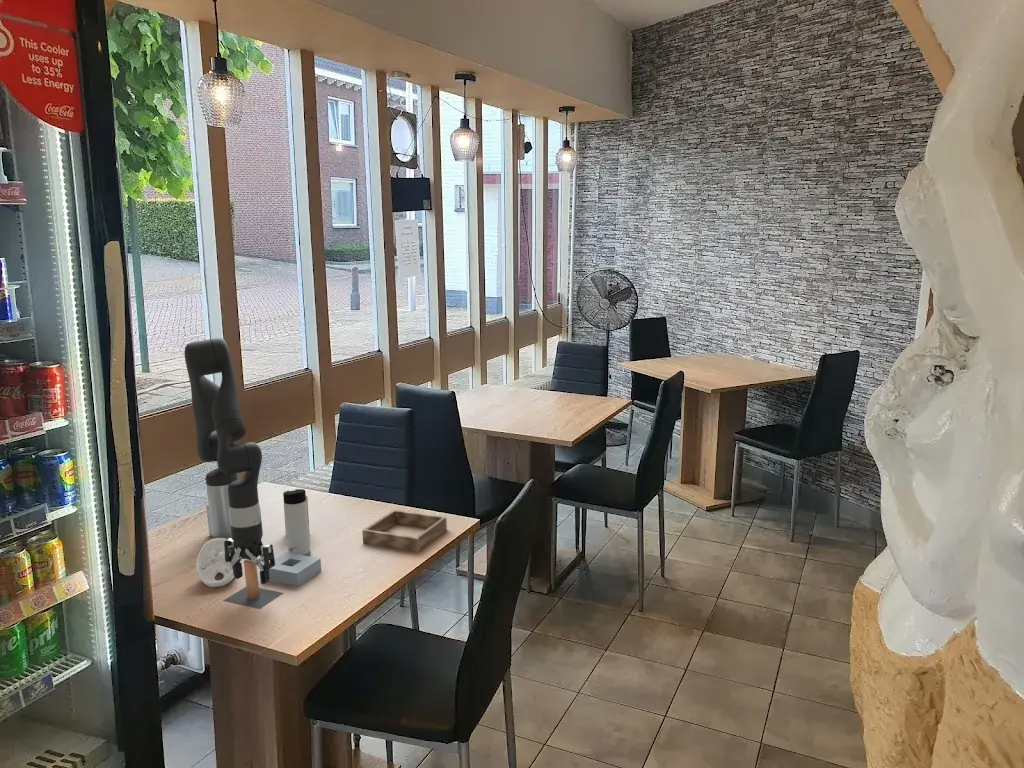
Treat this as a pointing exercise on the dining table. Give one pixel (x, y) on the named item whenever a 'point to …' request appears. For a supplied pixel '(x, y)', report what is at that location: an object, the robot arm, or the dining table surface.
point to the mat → (260, 602)
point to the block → (294, 568)
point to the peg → (251, 579)
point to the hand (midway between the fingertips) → (251, 580)
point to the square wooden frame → (378, 537)
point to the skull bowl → (214, 563)
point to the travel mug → (297, 522)
